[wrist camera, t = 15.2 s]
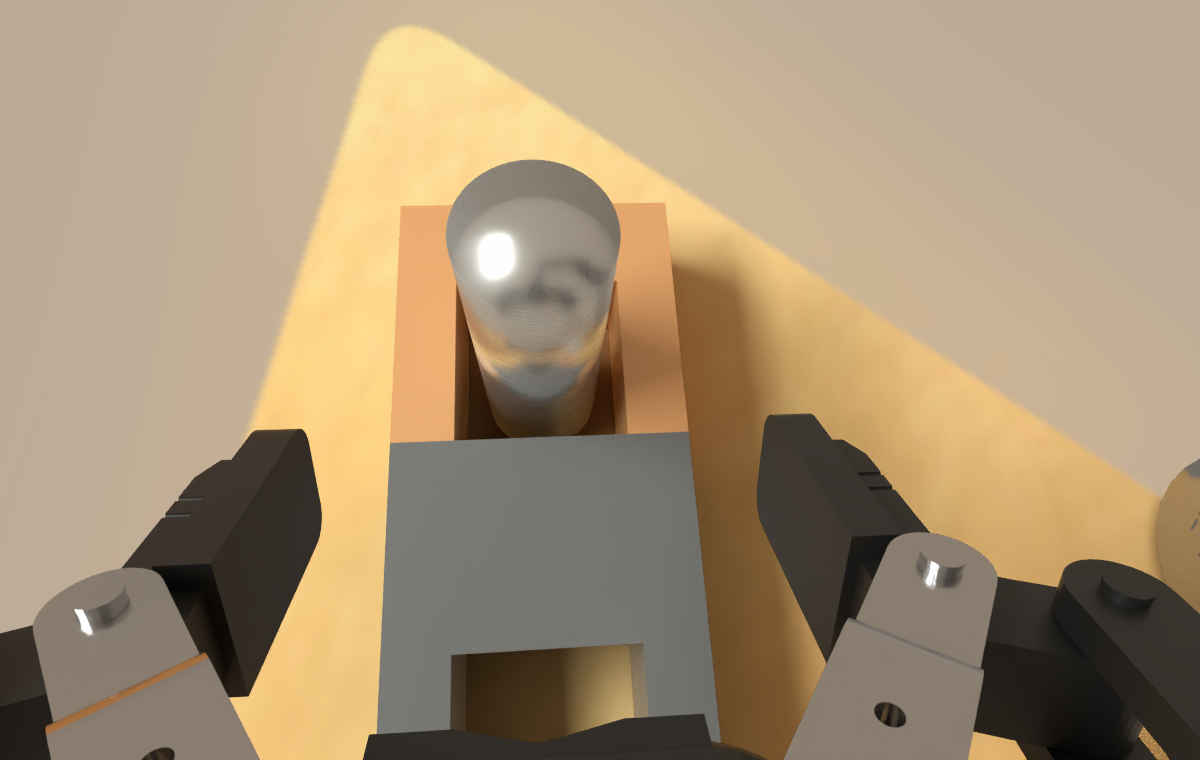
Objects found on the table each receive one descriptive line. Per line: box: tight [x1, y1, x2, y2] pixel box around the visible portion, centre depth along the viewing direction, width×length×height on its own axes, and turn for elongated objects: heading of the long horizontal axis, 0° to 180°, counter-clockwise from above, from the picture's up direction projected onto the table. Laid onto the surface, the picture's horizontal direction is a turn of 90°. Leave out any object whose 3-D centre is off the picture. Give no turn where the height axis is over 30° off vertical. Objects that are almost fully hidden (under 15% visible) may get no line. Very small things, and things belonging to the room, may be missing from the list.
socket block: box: [377, 203, 721, 743], centre depth 24 cm, size 10×24×4 cm, turn 3°
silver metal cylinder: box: [446, 160, 621, 438], centre depth 22 cm, size 4×4×12 cm
